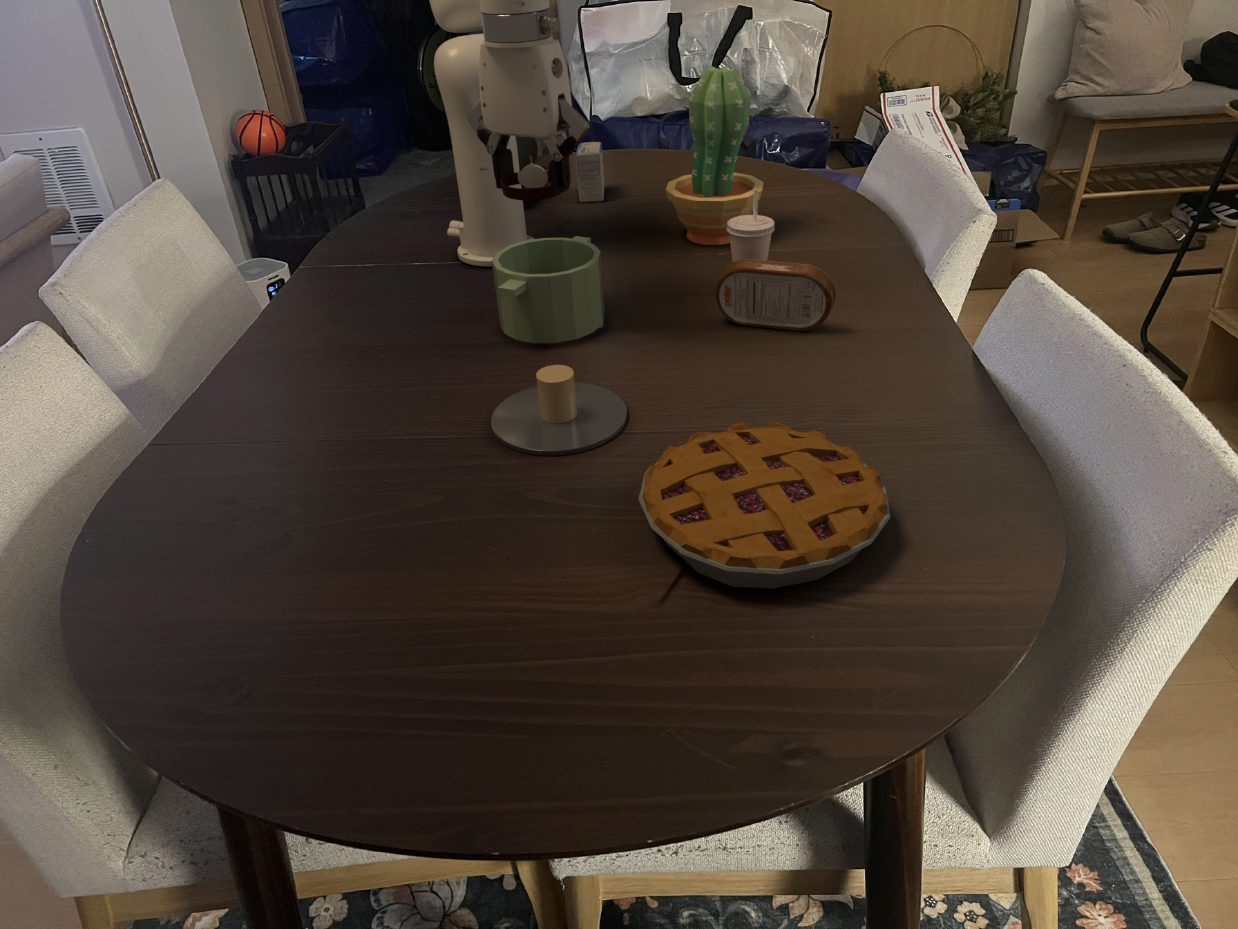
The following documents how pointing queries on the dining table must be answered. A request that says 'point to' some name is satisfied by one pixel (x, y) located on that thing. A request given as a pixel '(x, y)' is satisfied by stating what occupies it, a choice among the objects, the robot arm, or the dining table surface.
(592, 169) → the medicine box
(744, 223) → the smoothie
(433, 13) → the robot arm
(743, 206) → the potted cactus
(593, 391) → the lid
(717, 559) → the pie
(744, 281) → the tin
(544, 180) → the watch
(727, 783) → the dining table surface
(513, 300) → the pot
